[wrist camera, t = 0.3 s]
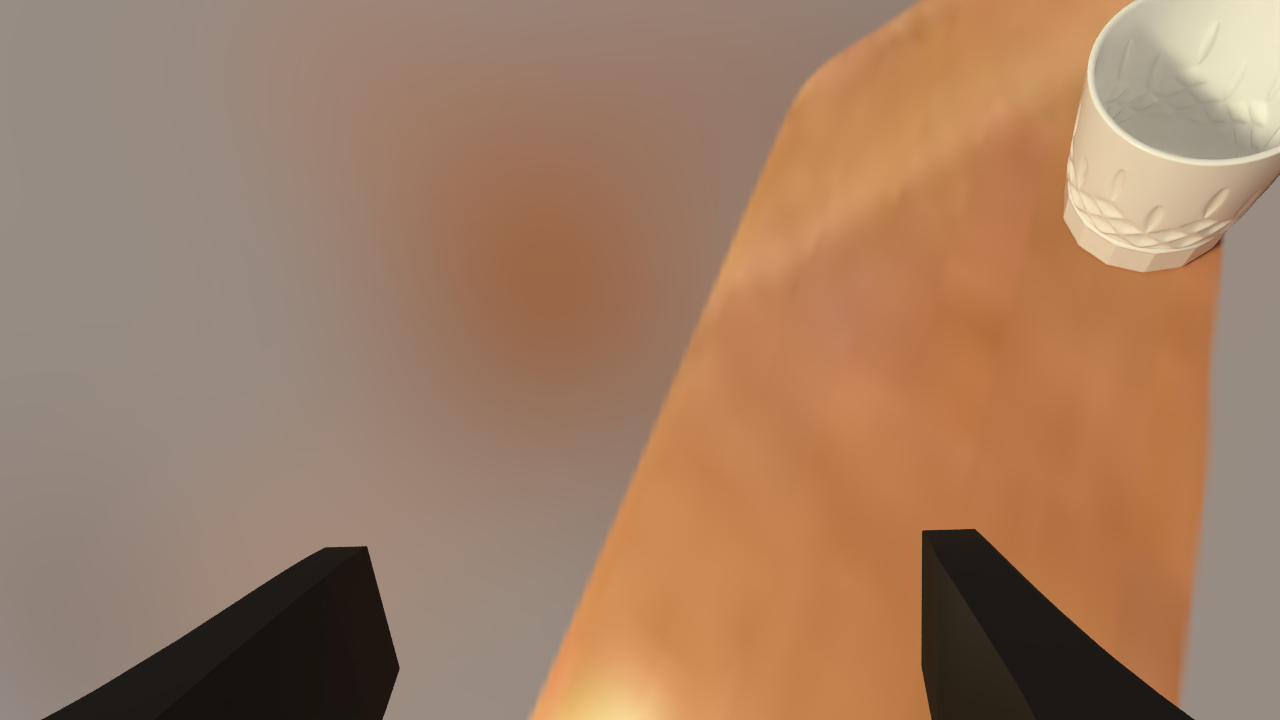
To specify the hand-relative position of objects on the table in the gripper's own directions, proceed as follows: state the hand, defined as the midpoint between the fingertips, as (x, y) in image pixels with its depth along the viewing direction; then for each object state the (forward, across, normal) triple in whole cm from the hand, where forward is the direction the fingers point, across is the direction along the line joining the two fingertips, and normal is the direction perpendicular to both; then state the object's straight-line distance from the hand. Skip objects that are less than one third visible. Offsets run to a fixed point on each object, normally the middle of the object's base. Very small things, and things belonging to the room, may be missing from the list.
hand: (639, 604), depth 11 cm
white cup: (+33, -19, +4) cm, 38 cm away
